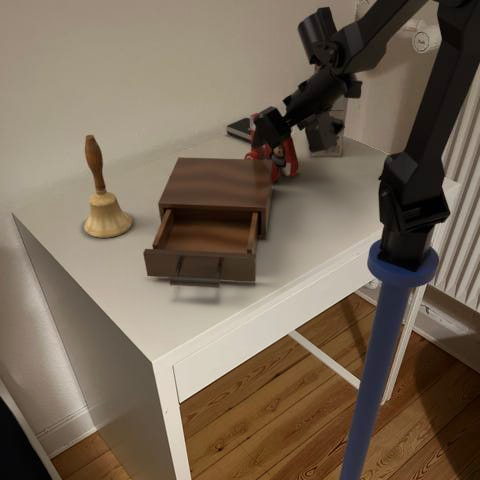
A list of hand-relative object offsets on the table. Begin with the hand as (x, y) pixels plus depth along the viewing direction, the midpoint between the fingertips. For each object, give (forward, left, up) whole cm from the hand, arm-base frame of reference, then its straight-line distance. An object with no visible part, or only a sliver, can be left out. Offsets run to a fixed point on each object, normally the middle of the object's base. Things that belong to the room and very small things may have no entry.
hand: (267, 138), depth 97 cm
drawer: (-9, +30, -6) cm, 32 cm away
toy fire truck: (-1, 0, -7) cm, 7 cm away
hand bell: (+12, +32, -7) cm, 35 cm away
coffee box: (-4, -16, -7) cm, 18 cm away
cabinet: (-2, +17, -7) cm, 19 cm away
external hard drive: (+12, -12, -7) cm, 18 cm away
